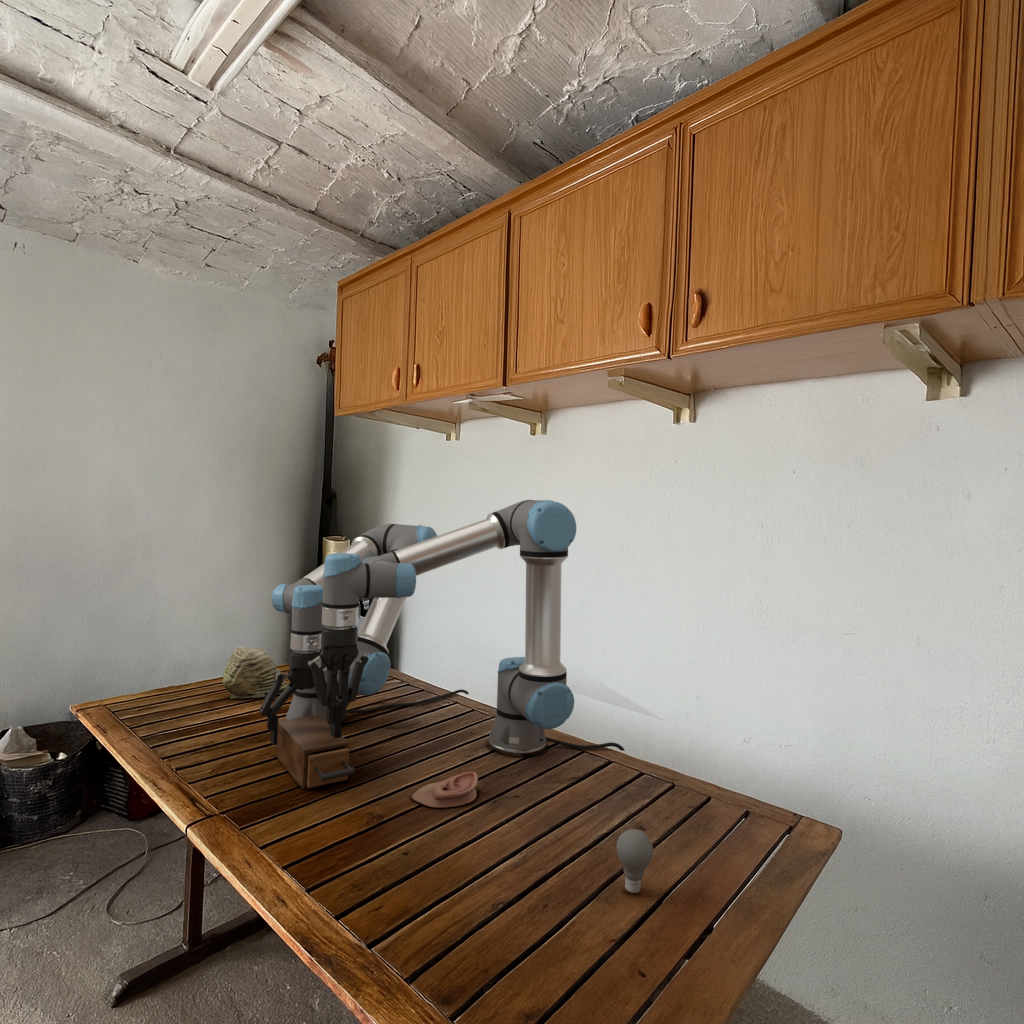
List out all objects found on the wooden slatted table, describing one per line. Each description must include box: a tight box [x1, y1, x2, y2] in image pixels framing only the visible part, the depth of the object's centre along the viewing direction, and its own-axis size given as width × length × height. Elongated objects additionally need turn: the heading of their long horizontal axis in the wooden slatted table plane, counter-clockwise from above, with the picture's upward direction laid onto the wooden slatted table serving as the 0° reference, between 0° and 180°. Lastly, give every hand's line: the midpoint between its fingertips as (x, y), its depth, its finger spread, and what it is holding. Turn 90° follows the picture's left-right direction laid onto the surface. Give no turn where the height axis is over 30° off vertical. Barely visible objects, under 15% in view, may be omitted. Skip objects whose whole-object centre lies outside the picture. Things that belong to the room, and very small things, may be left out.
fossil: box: [222, 646, 288, 699], centre depth 198 cm, size 9×18×15 cm, turn 132°
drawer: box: [307, 747, 356, 789], centre depth 143 cm, size 25×9×7 cm, turn 36°
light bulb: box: [615, 828, 654, 894], centre depth 106 cm, size 6×6×10 cm
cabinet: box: [275, 715, 349, 790], centre depth 148 cm, size 20×10×8 cm, turn 36°
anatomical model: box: [411, 771, 479, 809], centre depth 136 cm, size 13×4×12 cm
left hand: (302, 738), depth 152 cm, fingers open, 13 cm apart
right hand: (335, 735), depth 135 cm, fingers closed
